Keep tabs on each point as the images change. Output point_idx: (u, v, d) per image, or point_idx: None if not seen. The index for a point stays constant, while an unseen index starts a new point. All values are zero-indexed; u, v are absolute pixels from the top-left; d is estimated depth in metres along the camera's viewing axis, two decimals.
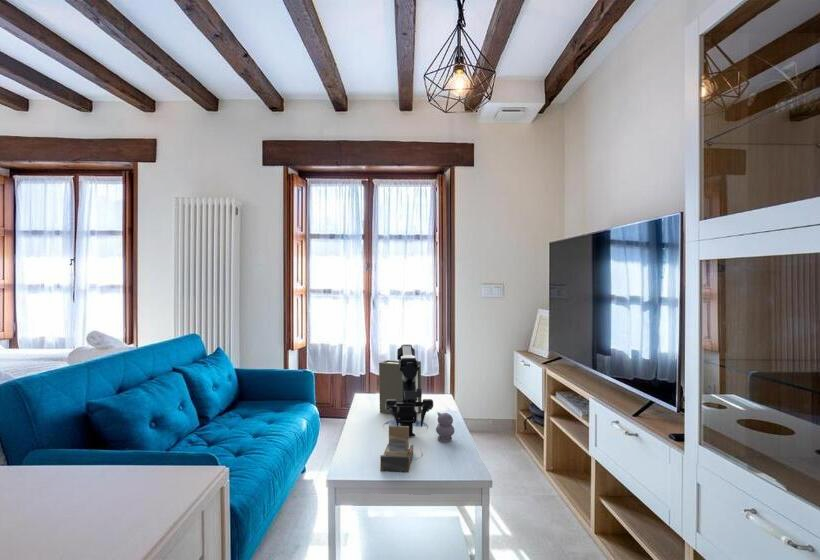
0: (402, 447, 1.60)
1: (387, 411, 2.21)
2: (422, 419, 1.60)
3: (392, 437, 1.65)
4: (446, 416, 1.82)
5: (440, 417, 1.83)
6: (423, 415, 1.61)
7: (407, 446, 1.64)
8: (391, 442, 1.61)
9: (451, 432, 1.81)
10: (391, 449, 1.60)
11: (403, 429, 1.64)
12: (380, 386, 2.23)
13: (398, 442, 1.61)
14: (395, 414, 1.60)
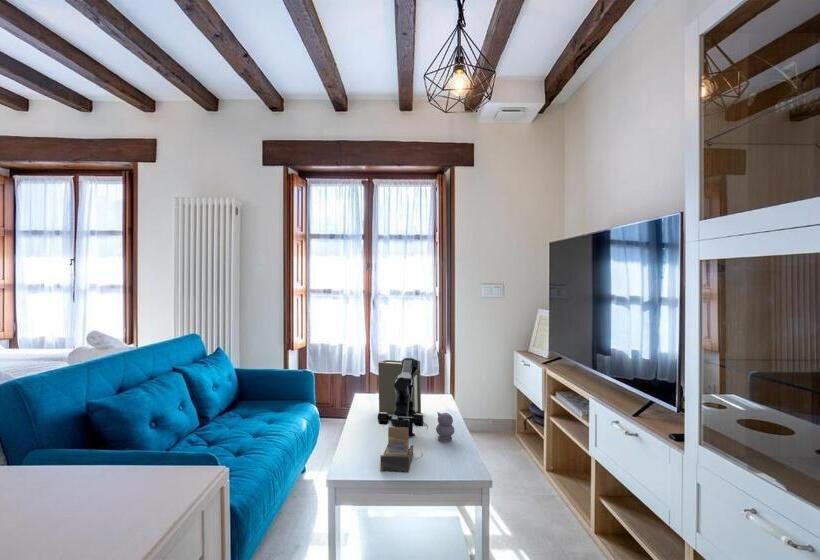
0: (402, 448, 1.59)
1: (386, 411, 2.22)
2: None
3: (391, 438, 1.63)
4: (446, 416, 1.82)
5: (440, 417, 1.83)
6: None
7: (407, 447, 1.63)
8: (390, 443, 1.60)
9: (451, 432, 1.81)
10: (390, 451, 1.59)
11: (402, 430, 1.63)
12: (379, 386, 2.23)
13: (397, 443, 1.60)
14: None
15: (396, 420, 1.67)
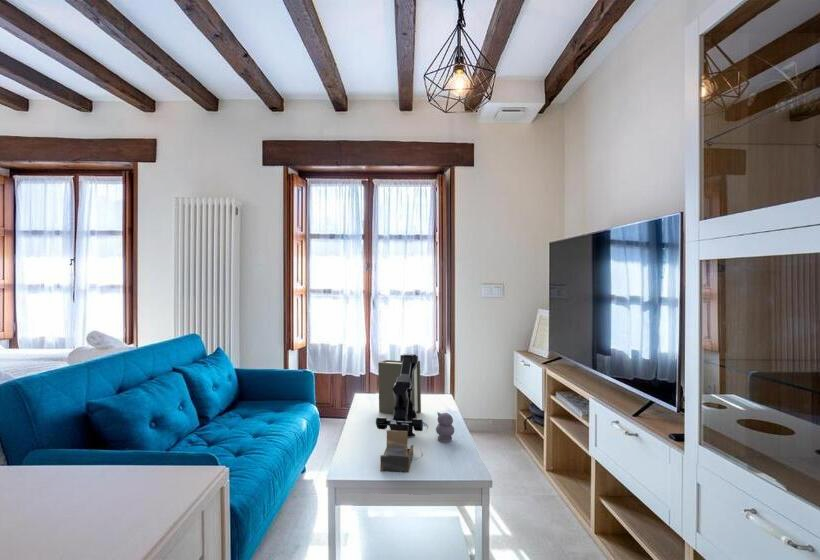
0: (401, 452, 1.55)
1: (386, 411, 2.22)
2: None
3: (390, 442, 1.60)
4: (446, 416, 1.82)
5: (440, 417, 1.83)
6: None
7: (405, 451, 1.59)
8: (389, 447, 1.56)
9: (451, 432, 1.81)
10: (389, 455, 1.55)
11: (401, 433, 1.59)
12: (379, 386, 2.23)
13: (396, 447, 1.56)
14: None
15: (395, 425, 1.64)
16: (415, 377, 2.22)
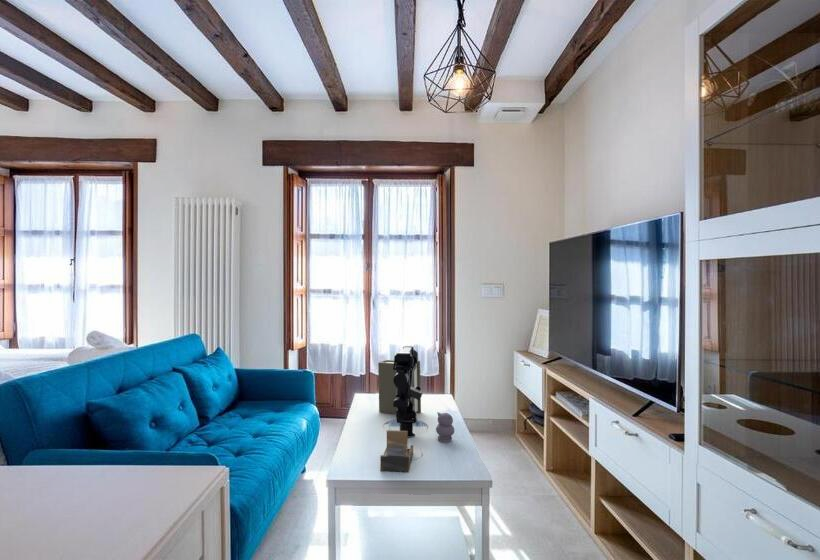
0: (401, 452, 1.55)
1: (386, 411, 2.22)
2: (405, 411, 1.79)
3: (390, 442, 1.60)
4: (446, 416, 1.82)
5: (440, 417, 1.83)
6: None
7: (405, 451, 1.59)
8: (389, 447, 1.56)
9: (451, 432, 1.81)
10: (389, 455, 1.55)
11: (401, 433, 1.59)
12: (379, 386, 2.23)
13: (396, 447, 1.56)
14: (405, 408, 1.77)
15: None
16: (415, 377, 2.22)
